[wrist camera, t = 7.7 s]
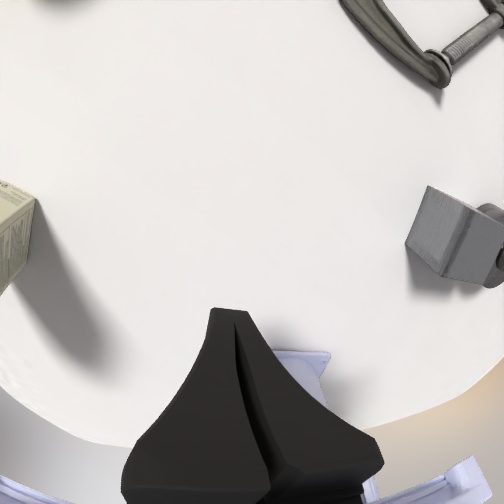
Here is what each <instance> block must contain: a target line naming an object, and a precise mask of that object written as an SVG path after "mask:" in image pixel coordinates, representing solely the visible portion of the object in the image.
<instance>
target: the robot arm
mask: <svg viewBox="0 0 504 504" xmlns="http://www.w3.org/2000/svg"><path fill="white" fill-rule="evenodd" d="M330 358H331V356H330V354H329V353H327V352H295V351H275V350H271V348H270V347H269V346H268V344H267V343H266V341H265V340H264V338H263V337H262V335H261V333H260V332H259V330H258V328H257V327H256V325H255V323H254V322H253V320H252V318H251V317H250V315H249V313H248V312H247V311H241V310H232V309H223V308H215V307H214V308H212V309H211V311H210V316H209V321H208V326H207V332H206V337H205V340H204V343H203V346H202V348H201V350H200V352H199V354H198V357H197V359H196V361H195V363H194V365H193V367H192V369H191V371H190V372H189V374H188V376H187V378H186V379H185V381H184V383H183V384H182V386H181V387H180V389H179V390H178V392H177V393H176V395H175V396H174V398H173V399H172V401H171V402H170V403H169V405H168V406H167V407H166V408H165V410H164V411H163V412H162V414H161V415H160V416H159V417H158V419H157V420H156V421H155V422H154V423H153V424H152V425H151V427H150V428H149V429H148V430H147V431H146V432H145V433H144V434H143V435H142V436H141V437H140V438H139V439H138V440H137V442H136V444H135V446H134V448H133V450H132V452H131V453H130V455H129V457H128V459H127V461H126V464H125V466H124V469H123V472H122V478H121V493H122V495H123V497H124V499H125V500H126V502H127V504H482V503H484V502H485V501H486V500H488V499H489V498H490V497H491V496H492V492H491V490H490V488H489V486H488V484H487V482H486V480H485V478H484V476H483V474H482V472H481V470H480V468H479V466H478V464H477V462H476V460H475V458H474V456H470V457H468V458H466V459H464V460H463V461H461V462H459V463H457V464H455V465H454V466H453V467H451V468H450V469H448V470H447V471H446V472H445V473H444V474H442V475H440V476H438V477H436V478H433V479H431V480H429V481H426V482H424V483H422V484H419V485H417V486H415V487H412V488H410V489H407V490H404V491H402V492H399V493H396V494H393V495H391V496H388V497H385V498H382V499H380V498H379V492H378V487H377V484H376V480H375V477H374V475H375V474H376V473H377V472H378V471H379V470H381V468H382V467H383V465H384V460H383V457H382V454H381V452H380V449H379V447H378V445H377V442H376V441H375V439H374V438H373V437H371V436H369V435H367V434H366V433H364V432H362V431H360V430H358V429H357V428H355V427H353V426H351V425H350V424H348V423H347V422H345V421H344V420H342V419H341V418H339V417H338V416H336V415H335V414H334V413H332V412H331V411H330V410H329V407H328V405H327V402H326V399H325V396H324V393H323V390H322V387H321V385H320V382H319V378H320V376H321V374H322V372H323V371H324V369H325V367H326V365H327V364H328V362H329V360H330ZM0 504H74V503H70V502H67V501H64V500H61V499H58V498H55V497H52V496H49V495H47V494H44V493H41V492H39V491H36V490H33V489H31V488H29V487H26V486H24V485H22V484H19V483H17V482H15V481H13V480H11V479H8V478H6V477H4V476H2V475H0Z"/></svg>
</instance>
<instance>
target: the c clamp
mask: <svg viewBox="0 0 504 504" xmlns="http://www.w3.org/2000/svg"><path fill="white" fill-rule="evenodd" d="M481 1H482V2H483V3H484V4H485V5H486V6H487V7H488V9H489V13H490V15H489V16H487V17H486V18H485V19H483V20H482V21H480V22H479V23H478V24H476V25H475V26H474V27H472V28H471V29H469V30H468V31H467V32H465V33H464V34H463V35H461V36H460V37H459V38H457V39H456V40H455V41H453V42H452V43H451V44H449V45H448V46H447V47H445V48H444V49H443V50H442V51H441V52H439V51H437V50H433V49H429V50H426V51H425V52H423V51H422V50H421V49H420V48H419V47H418V46H417V45H416V43H415V42H414V41H413V40H412V39H411V37H410V36H409V35H408V34H407V32H406V31H405V30H404V28H403V27H402V26H401V24H400V23H399V22H398V21H397V19H396V18H395V17H394V15H393V14H392V13H391V12H390V11H389V9H388V8H387V7H386V5H385V4H384V2H383V0H342V2H343V3H344V5H345V6H346V7H347V8H348V10H349V11H350V12H351V13H352V14H353V15H354V16H355V17H356V19H357V20H358V21H359V22H360V23H361V24H362V25H363V26H364V27H365V28H366V29H367V30H368V31H369V32H370V33H371V34H372V35H373V36H374V38H375V39H376V40H378V41H379V42H380V43H381V44H382V45H383V46H384V47H385V48H386V49H387V50H389V51H390V52H391V53H392V54H393V55H395V56H396V57H397V58H398V59H400V60H401V61H402V62H404V63H405V64H406V65H407V66H409V67H410V68H412V69H413V70H415V71H416V72H418V73H419V74H421V75H423V76H424V77H426V78H428V80H429V81H430V83H431V84H432V85H433V86H435V87H436V88H439V89H442V88H445V87H447V86H448V85H449V83H450V81H451V76H452V67H451V65H454V64H455V63H456V62H458V61H459V60H460V59H461V58H463V57H464V56H465V55H466V54H467V53H468V52H470V51H471V50H472V49H473V48H475V47H476V46H477V45H478V44H480V43H481V42H482V41H483V40H485V39H486V38H487V37H488V36H489V35H491V34H492V33H493V32H494V31H496V30H497V29H498V28H501V29H504V5H503V4H502V3H501V2H500V0H481ZM501 1H502V2H503V3H504V0H501Z"/></svg>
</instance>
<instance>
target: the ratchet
mask: <svg viewBox="0 0 504 504" xmlns="http://www.w3.org/2000/svg"><path fill="white" fill-rule="evenodd" d="M477 210H479V211H481V212H482V213H484V214H486V215H487V216H489V217H491V218H492V219H494V220H495V221H497V222H499V223H500V224H502V225H503V226H504V210H502V209H500V208H499V207H497V206H495V205H493V204H489V203H488V204H484V205H482V206H480V207H478V208H477ZM502 282H504V242H503V244H502V246H501V248H500V251H499V253H498V255H497V257H496V259H495V261H494V263H493V265H492V267H491V269H490V271H489V273H488V275H487V277H486V279H485V281H484V283H483V286H484V287H486V288H494V287H497V286H498V285H500V284H501V283H502Z"/></svg>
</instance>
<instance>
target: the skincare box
mask: <svg viewBox="0 0 504 504" xmlns="http://www.w3.org/2000/svg"><path fill="white" fill-rule="evenodd" d="M34 204H35V197H33V196H31V195H29V194H28V193H26V192H24V191H22V190H20V189H18V188H16V187H14V186H12V185H10V184H8V183H6V182H4V181H2V180H0V296H1V295H2V293H3V292H4V291H5V289H6V288H7V287H8V285H9V284H10V283H11V282H12V280H13V279H14V278H15V277H16V276H17V274H18V273H19V272H20V271H21V269H22V268H23V267H24V266H25V265H26V262H27V255H28V247H29V239H30V232H31V225H32V218H33V211H34Z"/></svg>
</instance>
